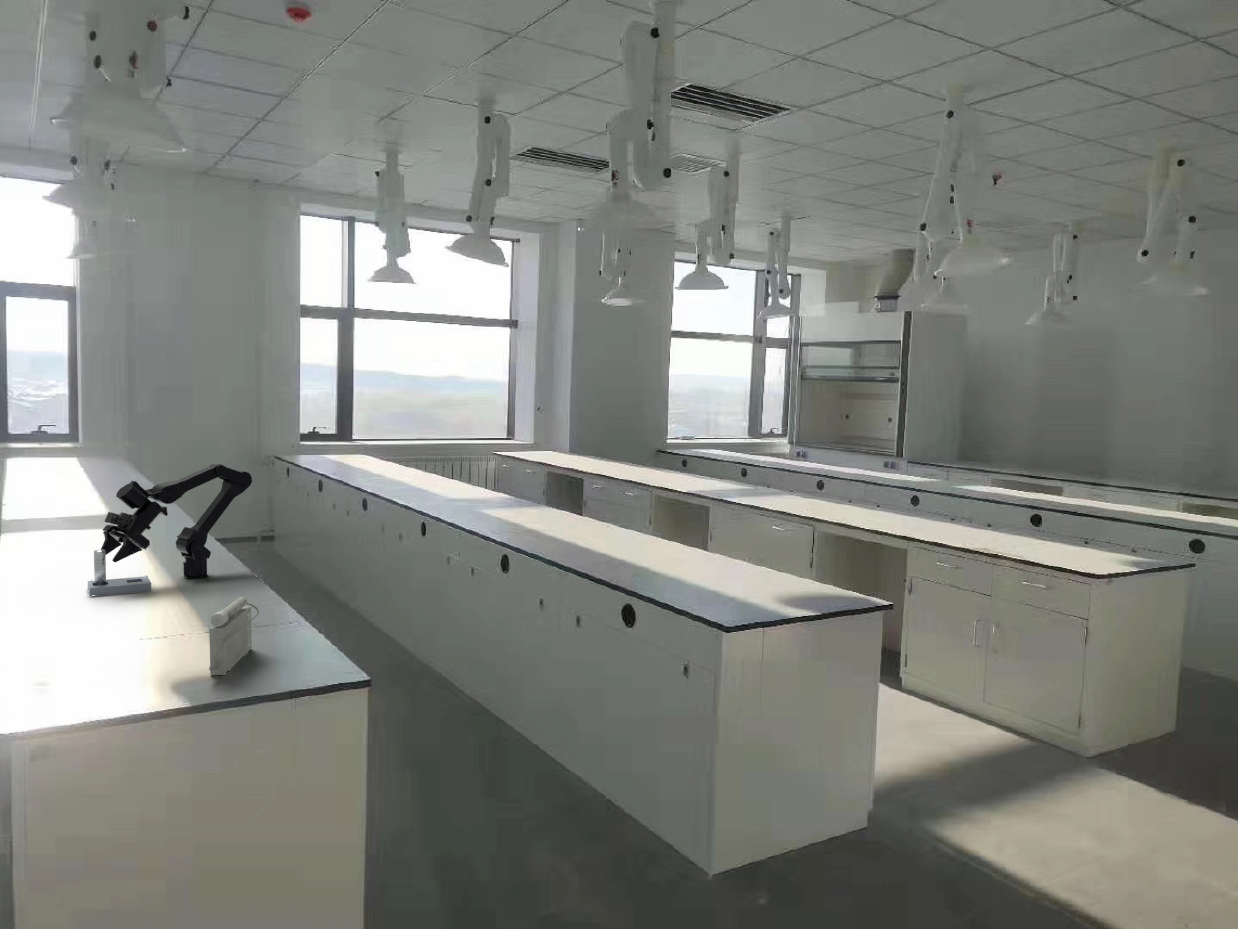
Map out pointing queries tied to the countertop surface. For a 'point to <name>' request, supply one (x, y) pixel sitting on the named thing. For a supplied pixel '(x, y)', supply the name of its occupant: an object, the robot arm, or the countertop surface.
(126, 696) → the countertop surface
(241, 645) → the geiger counter
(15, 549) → the countertop surface
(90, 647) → the countertop surface
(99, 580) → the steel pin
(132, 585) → the socket block
